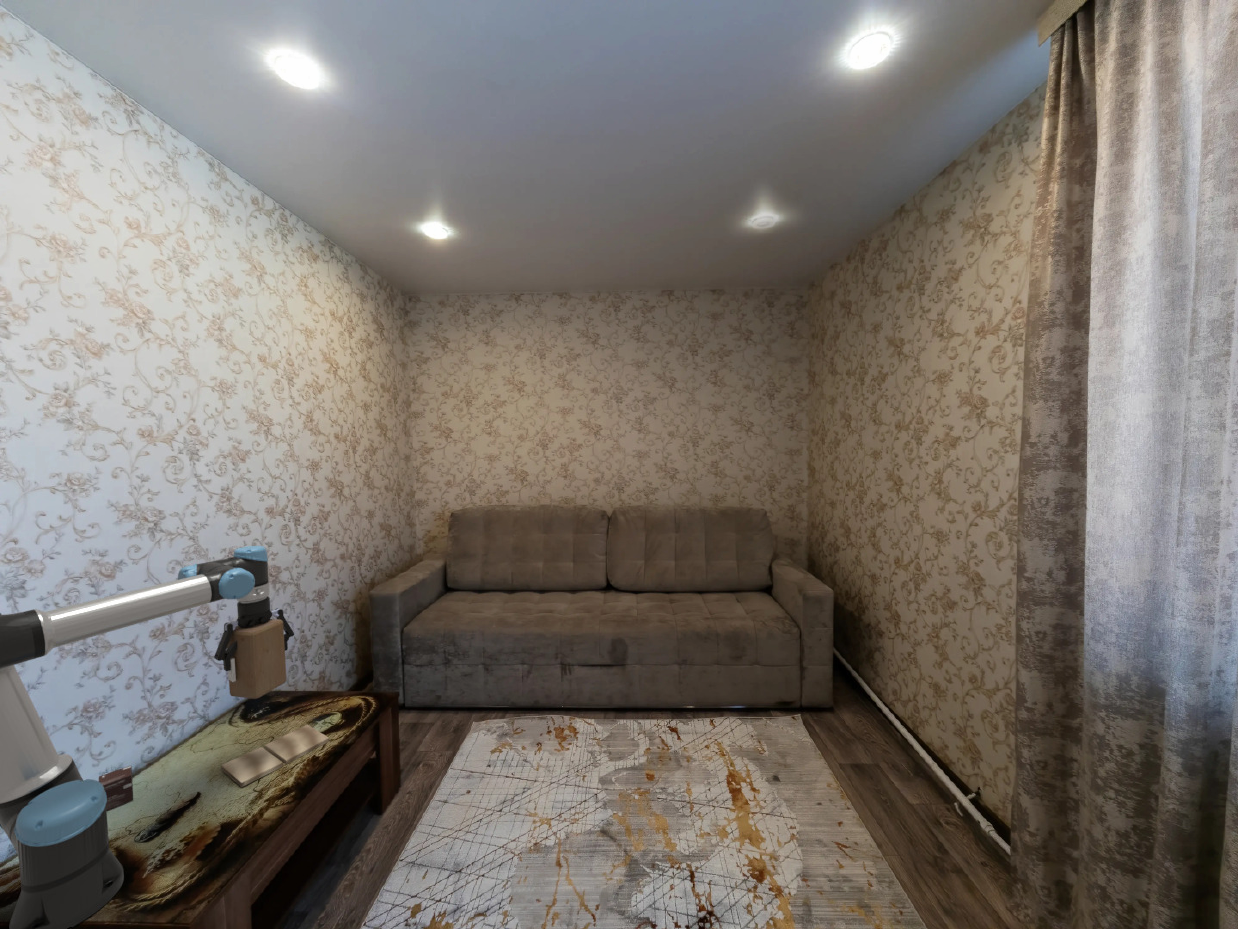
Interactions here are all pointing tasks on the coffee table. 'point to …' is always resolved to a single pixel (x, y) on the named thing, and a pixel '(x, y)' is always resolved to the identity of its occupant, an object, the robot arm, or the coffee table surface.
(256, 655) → the wooden block
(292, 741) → the laid boards
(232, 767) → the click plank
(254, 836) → the coffee table surface
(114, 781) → the box
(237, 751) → the coffee table surface
